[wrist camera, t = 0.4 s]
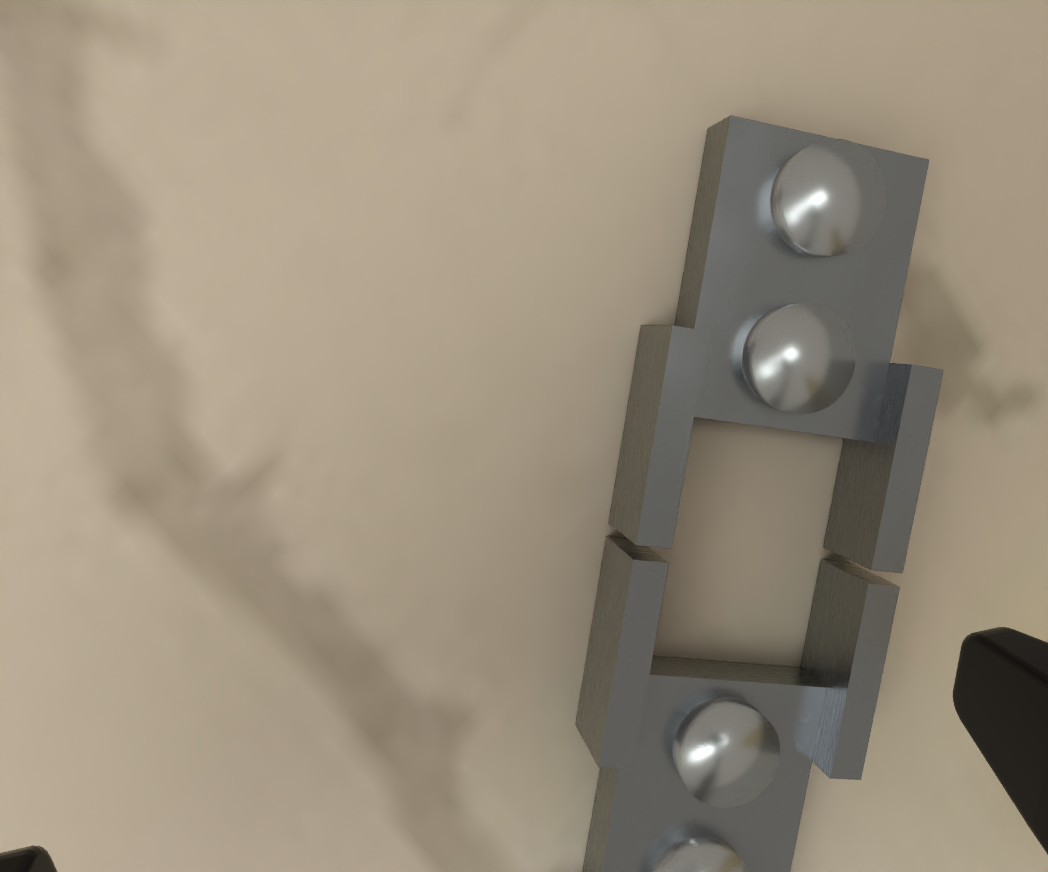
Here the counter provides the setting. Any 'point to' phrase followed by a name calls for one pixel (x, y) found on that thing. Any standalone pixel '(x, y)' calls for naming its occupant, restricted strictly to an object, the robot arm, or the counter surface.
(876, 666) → the chain ends
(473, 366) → the counter surface
